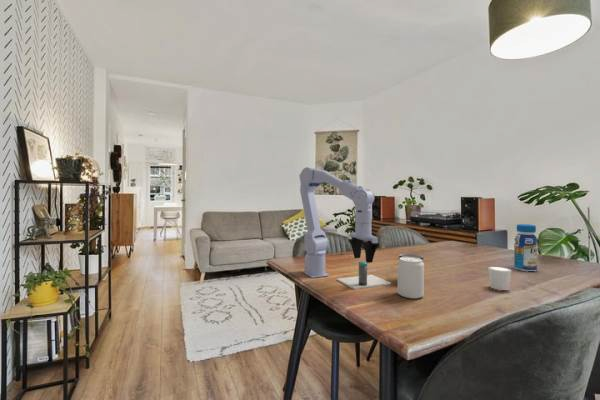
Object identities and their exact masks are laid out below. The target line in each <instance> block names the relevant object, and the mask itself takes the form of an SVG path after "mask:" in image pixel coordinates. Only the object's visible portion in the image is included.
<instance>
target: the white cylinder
mask: <svg viewBox="0 0 600 400" xmlns="http://www.w3.org/2000/svg"><path fill="white" fill-rule="evenodd" d="M511 275H512V269H510V268H507V267H503V266H502V267H501V266H488V279H489V288H490V287H491V288H490V289H492V288H494V289H493V290H495V289H498V290H497V291H501V290H507V291H509V290H510V284H511V277H512V276H511Z"/></svg>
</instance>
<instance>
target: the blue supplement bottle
mask: <svg viewBox="0 0 600 400" xmlns="http://www.w3.org/2000/svg"><path fill="white" fill-rule="evenodd" d="M536 229H537V227H536V225H535V224H530V223H529V224H525V223H521V224H520V223H519V224H518V223H517V224H516V233H517V234H516V235H515V237H514V241H515V243H514V244H513V247H514V248H513V249H514V250H513V251H514V254H513V255H514V257H513V261H514V262H513V268H514V269H515V270H518V271H522V272H528V271H535V272H537V271H538V249H539V247H538V238H537V236H536V235H535V234H536V232H537V231H536Z"/></svg>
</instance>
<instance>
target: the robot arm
mask: <svg viewBox="0 0 600 400" xmlns="http://www.w3.org/2000/svg"><path fill="white" fill-rule="evenodd" d="M298 177H299V181H300V182H299V183H300V185H299V186H300V188H299V191H300V196H301V203H302V208H303V214H304V219H305V223H306V224H305V225H306V230H307V231H306V233H305V235H304V236H303V239H304V243H303V248H304V250H305V253H306V254H305V256H304V270H302V273H303V274H305V275H306V276H308V277H309V278H311V279H314V278H321V277H322V278H323V277H329V276H330V274H328V273H327V272H326V253H327V250H328V249H329V247H330V241H329V239H328V237H327V235H326V232H325V231H324V230H323V229H322V228H321V223H320V218H319V213H318V208H317V204H316V198H315V191H316V190H317V189H318V188H319V187H320V186H321V185H322V184H323V183H327V184H328V185H330V186H332V187H334V188H336V189H338V192H339V194H341V195H343V196H344V197H346V198H348V199H349V200H350V201H352V202H353V204H354V209H355V219H354V220H355V225H354V226H355V229H354V230H355V231H354V232H352V231H351V232H350V235H349V236H350V237H349V239H348V243H349V244H350V246H351V249H352V254H353V257H354V259H361V254H362V246H363V249H364V253H365V262H367V264H368V263H373V261H374V256H375V254H376V251H377V249H378V248H379V246H380V243H379V237H378V236H374V235H373V234H372V215H373V214H372V213H373V212H372V211H373V208H372V207H373V206H372V205H373V203H374V201H375V200H376V199H375V193H374V192H373V191H372V190H371V189H365V188H364V186H362V185H358V184H355V183H354V181H353V180H351V179H345V180H341V179H340V178H338V177H337V176H335V175H334V174H332V173H330V172H329V171H327V170H324V169H323V168H313V167H309V166H308V167H307V166H306V167H304V168H303V169H302V170H301V172H300V174H299V176H298Z"/></svg>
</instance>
